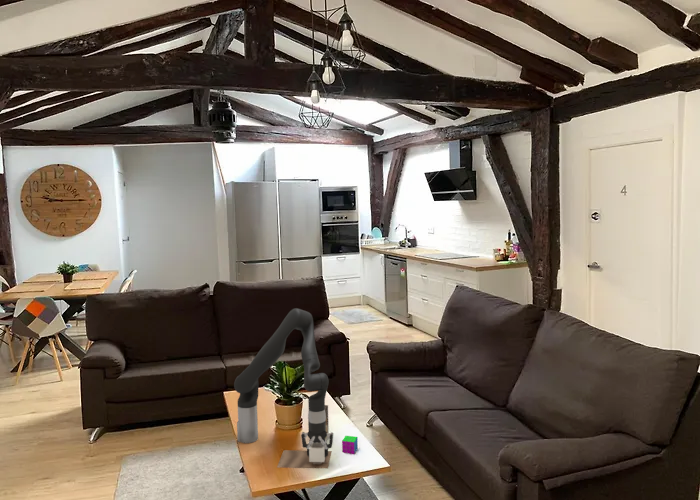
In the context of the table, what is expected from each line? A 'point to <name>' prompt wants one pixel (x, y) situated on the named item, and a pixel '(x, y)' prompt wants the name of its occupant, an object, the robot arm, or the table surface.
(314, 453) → the hollow square box
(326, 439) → the coffee box
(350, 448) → the puzzle toy
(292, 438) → the table surface
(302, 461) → the post board
